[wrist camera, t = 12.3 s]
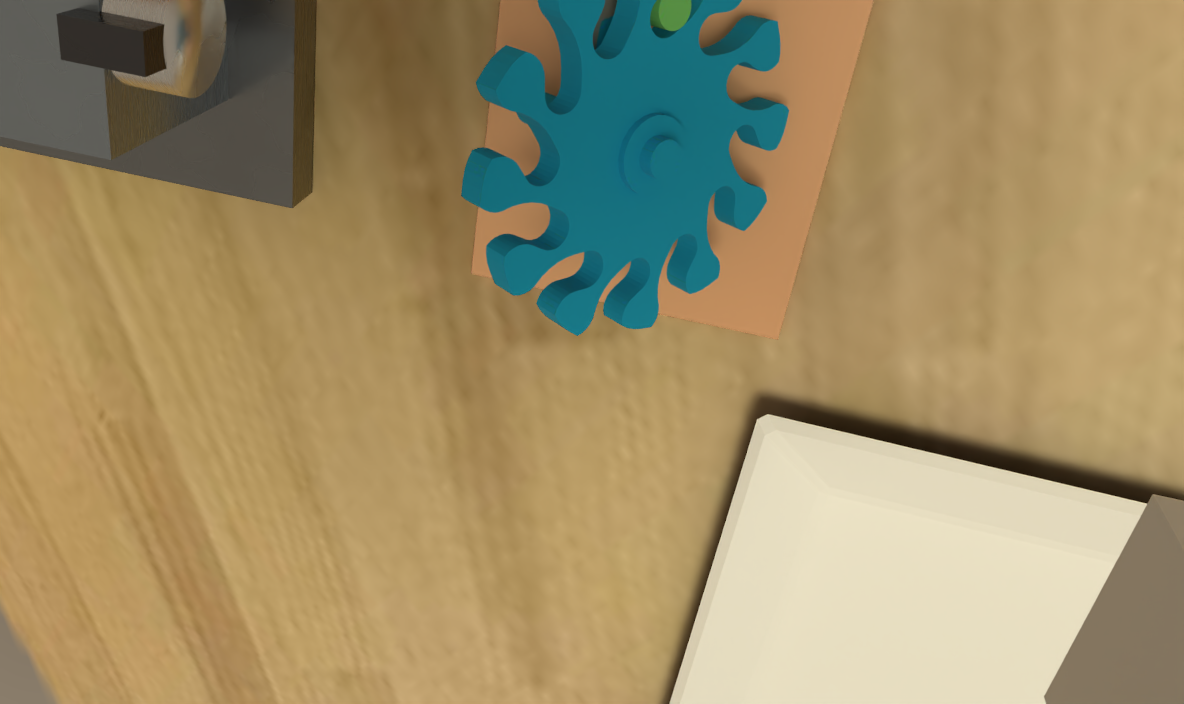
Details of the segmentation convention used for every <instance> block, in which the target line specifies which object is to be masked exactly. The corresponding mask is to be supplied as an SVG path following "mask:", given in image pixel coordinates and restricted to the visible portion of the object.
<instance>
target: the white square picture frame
mask: <svg viewBox="0 0 1184 704" xmlns="http://www.w3.org/2000/svg"><path fill="white" fill-rule="evenodd" d="M1146 505H1147V503H1143V502H1139V501H1135V500H1130V499H1126V498H1122V497H1118V496H1113V495H1109V494H1105V493H1101V492H1096V491H1092V490H1088V489H1084V488H1080V487H1075V486H1071V485H1067V484H1063V483H1058V482H1054V481H1050V480H1046V479H1041V478H1037V477H1033V476H1029V475H1024V474H1020V473H1016V472H1012V471H1007V470H1003V469H999V468H995V467H991V466H986V465H982V464H978V463H974V462H969V461H965V460H961V459H957V458H952V457H948V456H944V455H940V454H935V453H931V452H927V451H923V450H918V449H914V448H910V447H906V446H902V445H897V444H893V443H889V442H885V441H880V440H876V439H872V438H868V437H863V436H859V435H855V434H851V433H846V432H842V431H838V430H834V429H830V428H825V427H821V426H817V425H813V424H808V423H804V422H800V421H796V420H791V419H787V418H783V417H779V416H774V415H770V414H767V415H765V416H763V417H761V418H759V419H757V421H756V425H755V428H754V431H753V434H752V438H751V441H750V444H749V447H748V451H747V454H746V457H745V460H744V464H743V467H742V470H741V473H740V477H739V480H738V483H737V486H736V490H735V493H734V496H733V499H732V502H731V506H730V509H729V512H728V515H727V519H726V522H725V525H724V528H723V532H722V535H721V538H720V541H719V545H718V548H717V551H716V554H715V558H714V561H713V564H712V567H711V571H710V574H709V577H708V580H707V584H706V587H705V590H704V593H703V597H702V600H701V603H700V606H699V610H698V613H697V616H696V619H695V623H694V626H693V629H692V632H691V636H690V639H689V642H688V645H687V649H686V652H685V655H684V658H683V662H682V665H681V668H680V671H679V674H678V678H677V681H676V684H675V687H674V691H673V694H672V697H671V700H670V704H1046V702H1045V698H1044V695H1045V694H1046V692H1047V690H1048V688H1049V686H1050V684H1051V682H1052V681H1053V679H1054V677H1055V675H1056V673H1057V671H1058V669H1059V668H1060V666H1061V664H1062V662H1063V660H1064V658H1065V656H1066V654H1067V653H1068V651H1069V649H1070V647H1071V645H1072V643H1073V641H1074V640H1075V638H1076V636H1077V634H1078V632H1079V630H1080V628H1081V627H1082V625H1083V623H1084V621H1085V619H1086V617H1087V615H1088V614H1089V612H1090V610H1091V608H1092V606H1093V604H1094V602H1095V600H1096V599H1097V597H1098V595H1099V593H1100V591H1101V589H1102V587H1103V586H1104V584H1105V582H1106V580H1107V578H1108V576H1109V574H1110V573H1111V571H1112V569H1113V567H1114V565H1115V563H1116V561H1117V559H1118V558H1119V556H1120V554H1121V552H1122V550H1123V548H1124V546H1125V545H1126V543H1127V541H1128V539H1129V537H1130V535H1131V533H1132V532H1133V530H1134V528H1135V526H1136V524H1137V522H1138V520H1139V519H1140V517H1141V515H1142V513H1143V511H1144V509H1145V507H1146Z"/></svg>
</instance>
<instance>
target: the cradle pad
mask: <svg viewBox="0 0 1184 704" xmlns="http://www.w3.org/2000/svg"><path fill="white" fill-rule="evenodd" d="M873 2H874V0H742V1H741V3H740V4H739V5H738V6H737V7H736V8H735V9H733V10H732V11H729V12H723V13H715V14H712V15H710V16H709V17H708V18H707V19H706V20H705V21H704V23H703V24H702V27H701V29H700V33H699V45H700V48H704V47H708V46H711V45H713V44H715V43H717V42H718V41H720V40H721V39H722V38H724V37H725V36H726V35H727V34H728V33H729V32H730V31H731V30H732V29H733V27H734V26H735V25H736V23H737V22H738V21H739V20H740V19H741V18H743V17H745V16H749V15H752V16H757V17H761V18H766V19H770V20H774V21H778V27H779V33H780V43H781V46H780V59H779V63H778V64H777V65H776V66H775V67H774V68H773V69H771V70H769V71H765V72H763V71H758V70H755V69H751V68H747V67H744V66H740V65H736V66H735V67H734V68H733V69H732V71H731V72H730V74H729V77H728V80H727V94H728V96H729V98H730V99H731V100H732V101H734V102H735V103H737V104H738V103H743V102H747V101H749V100H751V99H753V98H756V97H760V98H764V99H767V100H771V101H774V102H777V103H780V104H784V105H785V106H787V108H788V109H789V114H788V118H787V123H786V127H785V130H784V133H783V136H782V139H781V141H780V143H779V145H778V147H777V149H775V150H772V151H767V150H764V149H761V148H758V147H755V146H752V145H749V144H746V143H744V142H742V141H741V140H740V138H739V136H738V134H737V131H735V132H734V134H733V136H732V138H731V140H730V144H729V153H730V157H731V159H732V162H733V165H734V167H735V169H736V171H737V173H738V175H739V176H740V177H741V179H742V180H744V181H745V182H748V183H751V184H753V185H756V186H758V187H760V188H762V189H763V190H764V191H765V193H766V196H767V202H766V204H765V206H764V207H763V209H762V211H761V212H760V214H759V215H758V217H757V218H756V219H755V221H754V222H753V223H752V224H751V225H750V226H749V227H748V228H747V229H746V230H745V231H742V230H739V229H737V228H735V227H732V226H730V225H728V224H726V223H723V222H721V221H719V220H718V219H717V218H716V216H715V213H714V198H715V193H714V194H713V196H712V197H711V199H710V202H709V207H708V216H707V235H708V241H709V244H710V247H711V249H712V251H713V253H714V254H715V255H716V257H717V258H718V260H719V262H720V273H719V277H718V279H716V280H715V281H714V282H712V283H711V284H710V285H708V286H707V287H705V288H704V289H702V290H700V291H698V292H696V293H693V294H689V293H687V292H685V291H683V290H681V289H679V288H677V287H675V286H673V285H671V284H670V282H669V281H668V279H667V266H668V262H669V260H670V258H671V256H672V253H673V251H674V249H675V247H676V244H677V240H678V239H677V240H676V241H675V242H674V244H673V246H672V248H671V250H670V252H669V254H668V256H667V258H666V260H665V263H664V265H663V268H662V271H661V274H660V278H659V284H658V302H659V311H658V314H661V315H666V316H670V317H675V318H680V319H684V320H689V321H694V322H698V323H703V324H708V325H712V326H717V327H721V328H726V329H731V330H735V331H740V332H745V333H749V334H754V335H759V336H763V337H768V338H773V339H777V340H778V338H779V334H780V331H781V327H782V324H783V320H784V317H785V313H786V310H787V306H788V302H789V299H790V295H791V292H792V288H793V285H794V281H795V278H796V274H797V271H798V267H799V264H800V260H801V256H802V253H803V249H804V246H805V242H806V239H807V235H808V232H809V228H810V225H811V221H812V218H813V214H814V211H815V207H816V203H817V200H818V196H819V193H820V189H821V186H822V182H823V179H824V175H825V172H826V168H827V165H828V161H829V158H830V154H831V150H832V147H833V143H834V140H835V136H836V133H837V129H838V126H839V122H840V119H841V115H842V112H843V108H844V104H845V101H846V97H847V94H848V90H849V87H850V83H851V80H852V76H853V73H854V69H855V66H856V62H857V59H858V55H859V51H860V48H861V44H862V41H863V37H864V34H865V30H866V27H867V23H868V20H869V16H870V13H871V9H872V6H873ZM651 28H653V26H651ZM505 45H507V46H510V47H513V48H516V49H519V50H522V51H525V52H528V53H531V54H533V55H535V56H536V57H537V58H538V59H539V60H540V62H541V64H542V66H543V69H544V72H545V92H546V93H549V94H552V95H554V96H557V95H558V93H559V89H560V84H561V57H560V50H559V45H558V41H557V38H556V35H555V32H554V30H553V28H552V27H551V25H550V23H549V21H548V20H547V19H546V17H545V16H544V15H543V14H542V12H541V10H540V8H539V5H538V0H501V1H500V10H499V19H498V28H497V38H496V47H495V54H496V53H497V52H498V51H499V50H500V49H501V48H503V47H504V46H505ZM485 148H489V149H491V150H494V151H496V152H498V153H500V154H502V155H504V156H506V157H508V158H511V159H513V160H514V161H515V162H516V163H517V164H518V165H519V167H520V169H521V170H522V172H523V174H524V176H526V175H528V174H530V173H531V172H532V171H533V170H534V169H535V167H536V166H537V164H538V162H539V158H540V146H539V144H538V141H537V140H536V138H535V136H534V134H533V132H532V130H531V129H530V127H529V126H528V124H526V123H524V122H522V121H521V120H520V119H519V117H518V115H517V113H516V112H514V111H510V110H508V109H505V108H503V107H500V106H498V105H496V104H493V103H491V102H489V112H488V121H487V130H486V139H485ZM549 221H550V211H549V208H548V206H547V205H545V204H542V203H523V204H519V205H516V206H512V207H510V208H508V209H506V210H504V211H502V212H497V213H492V212H488V211H485V210H483V209H482V208H480V207H478V214H477V223H476V232H475V241H474V251H473V260H472V269H471V274H475V275H479V276H484V277H489V278H492V275H491V273H490V270H489V267H488V264H487V258H486V245H487V244H488V243H489V242H490V241H491V240H492V239H493V238H495V237H497V236H499V235H502V234H513V235H516V236H518V237H521V238H523V239H527V240H533V239H536V238H538V237H539V236H541V235H542V234H543V233H544V232H545V230H546V229H547V227H548V225H549ZM583 260H584V252H582V253H579V254H575V255H572V256H570V257H567V258H565V259H563V260H562V261H560V262H558V263H557V264H555V265H554V266H553V267H552V268H550V269H549V270H548V271H547V272H546V273H545V274H544V275H543V276H542V277H541V279H540V280H539V281H538V283H537V284H536V285H535V286H534V287H535V288H540V289H544V288H545V287H546V286H547V285H549V284H550V283H552V282H554V281H557V280H560V279H564V278H567V277H570V276H572V275H574V274H575V273H576V272H577V271H578V270H579V269H580V267H581V265H582V263H583ZM630 264H631V261H630V262H629V263H628V264H627V265H626V266H625V267H624V268H623V269H622V270H620V271H619V272H618V273H617V274H616V276H615V277H614V278H613V279H612V280H611V281H610V283H609V284H608V285H607V287H606V288H605V290H604V292H603V293H602V295H601V297H600V299H599V301H600V302H605V300H606V297H607V295H608V294H609V292H610V291H611V290H612V289H613V288H614V287H615V286H616V285H617V284H618V283H619V282H620V281H621V280H622V279H623V278H624V277H625V276H626V274H627V273H628V271H629V268H630Z"/></svg>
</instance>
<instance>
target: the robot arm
mask: <svg viewBox="0 0 1184 704" xmlns="http://www.w3.org/2000/svg"><path fill="white" fill-rule="evenodd" d="M1044 698H1045V702H1046V704H1184V501H1183V500H1178V499H1174V498H1169V497H1164V496H1160V495H1155V494H1152V496H1151V498H1150V500H1149V502H1148V504H1147V505H1146V507H1145V509H1144V511H1143V513H1142V515H1141V517H1140V519H1139V520H1138V522H1137V524H1136V526H1135V528H1134V530H1133V532H1132V533H1131V535H1130V537H1129V539H1128V541H1127V543H1126V545H1125V546H1124V548H1123V550H1122V552H1121V554H1120V556H1119V558H1118V559H1117V561H1116V563H1115V565H1114V567H1113V569H1112V571H1111V573H1110V574H1109V576H1108V578H1107V580H1106V582H1105V584H1104V586H1103V587H1102V589H1101V591H1100V593H1099V595H1098V597H1097V599H1096V600H1095V602H1094V604H1093V606H1092V608H1091V610H1090V612H1089V614H1088V615H1087V617H1086V619H1085V621H1084V623H1083V625H1082V627H1081V628H1080V630H1079V632H1078V634H1077V636H1076V638H1075V640H1074V641H1073V643H1072V645H1071V647H1070V649H1069V651H1068V653H1067V654H1066V656H1065V658H1064V660H1063V662H1062V664H1061V666H1060V668H1059V669H1058V671H1057V673H1056V675H1055V677H1054V679H1053V681H1052V682H1051V684H1050V686H1049V688H1048V690H1047V692H1046V694H1045V695H1044Z"/></svg>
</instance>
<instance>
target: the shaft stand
mask: <svg viewBox="0 0 1184 704" xmlns="http://www.w3.org/2000/svg"><path fill="white" fill-rule="evenodd" d="M315 31H316V0H0V146H3V147H7V148H12V149H17V150H21V151H26V152H31V153H35V154H40V155H45V156H50V157H54V158H59V159H64V160H68V161H73V162H78V163H82V164H87V165H92V166H97V167H101V168H106V169H111V170H115V171H120V172H125V173H129V174H134V175H139V176H144V177H148V178H153V179H158V180H162V181H167V182H172V183H176V184H181V185H186V186H191V187H195V188H200V189H205V190H209V191H214V192H219V193H223V194H228V195H233V196H237V197H242V198H247V199H252V200H256V201H261V202H266V203H270V204H275V205H280V206H284V207H289V208H293V207H294V206H296V205H297V204H298V203H299V202H301V201H302V200H303V199H304V198H306V197H307V196H308V195H309V194H311V193H312V169H313V123H314V77H315Z"/></svg>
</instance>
